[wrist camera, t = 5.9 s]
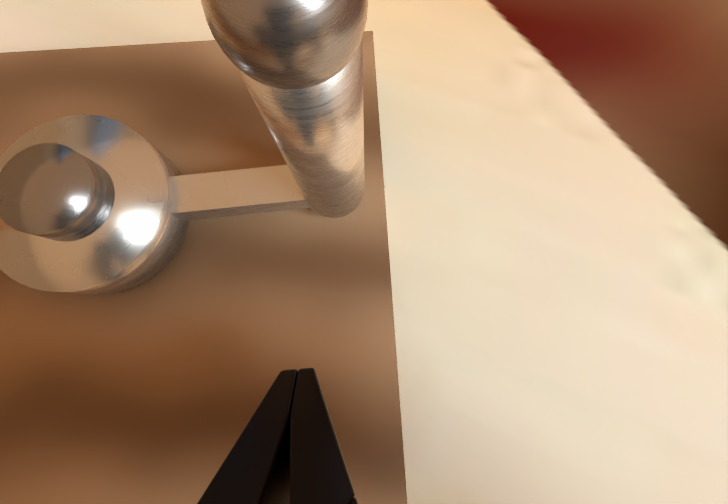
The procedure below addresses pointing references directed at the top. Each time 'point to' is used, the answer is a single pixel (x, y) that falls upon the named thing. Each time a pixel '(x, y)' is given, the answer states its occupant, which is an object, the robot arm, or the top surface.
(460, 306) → the top surface
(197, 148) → the stand
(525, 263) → the top surface
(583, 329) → the top surface
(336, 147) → the metal post and dome
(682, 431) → the top surface
